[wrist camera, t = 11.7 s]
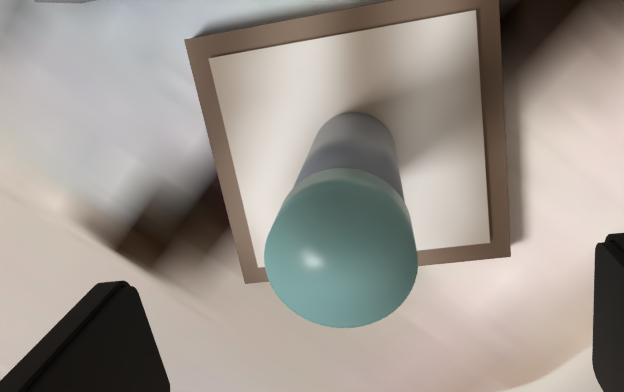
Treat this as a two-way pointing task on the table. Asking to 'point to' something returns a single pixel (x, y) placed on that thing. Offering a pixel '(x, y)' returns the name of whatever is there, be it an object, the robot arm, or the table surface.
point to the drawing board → (370, 100)
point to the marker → (344, 229)
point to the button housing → (64, 1)
